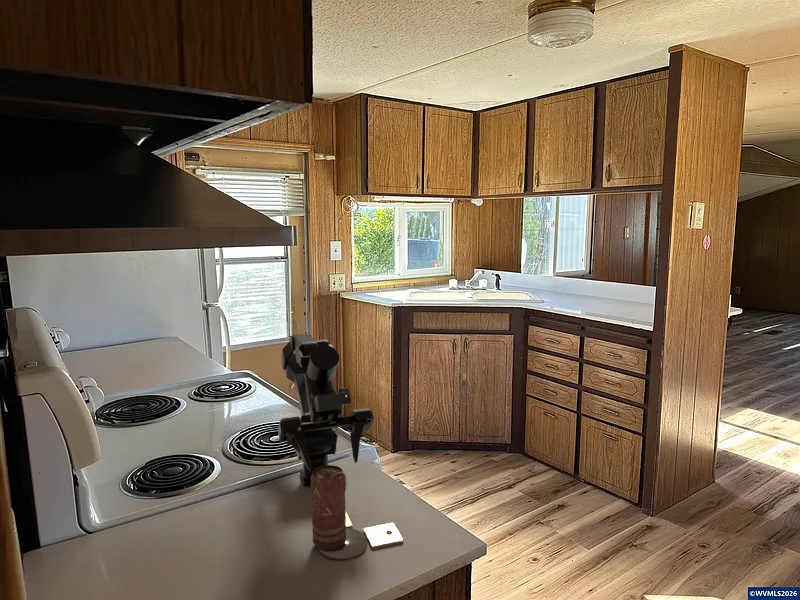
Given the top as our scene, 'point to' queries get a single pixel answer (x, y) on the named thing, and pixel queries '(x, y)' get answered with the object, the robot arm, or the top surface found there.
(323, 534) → the can
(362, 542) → the flat squares and disc
